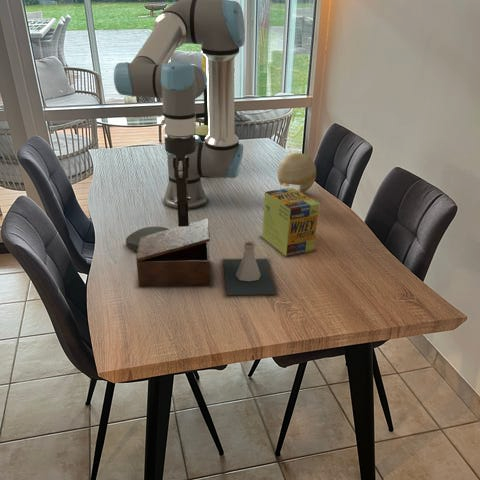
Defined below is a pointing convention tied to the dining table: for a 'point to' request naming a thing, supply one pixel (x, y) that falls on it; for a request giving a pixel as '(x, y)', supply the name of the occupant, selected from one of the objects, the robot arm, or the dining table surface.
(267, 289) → the place mat
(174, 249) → the lid
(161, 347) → the dining table surface
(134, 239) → the dark grey disc
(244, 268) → the flask
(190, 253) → the open wooden box
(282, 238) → the protein box
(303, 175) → the beige round ball
